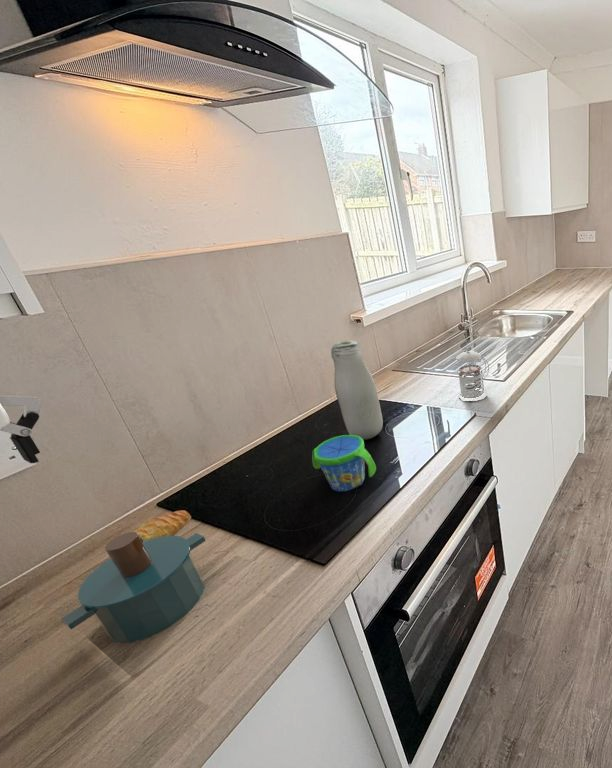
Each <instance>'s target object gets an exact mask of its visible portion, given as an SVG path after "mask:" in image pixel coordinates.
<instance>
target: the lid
mask: <svg viewBox="0 0 612 768" xmlns="http://www.w3.org/2000/svg"><path fill="white" fill-rule="evenodd" d="M104 550H105V551H106V553H107V555H108V556H109V559H107V560H106V561H104V562H103V563H102V564H100V565H99V566H98V567H96V568H95V569H94V570H93V571H92V572H91V573H89V575H88V576H87V577H86V578H85V579H84V580H83V582H82V583H81V585H80V587H79V589H78V592H77V600H78V602H79V603H80V604H81V606H82V605H83V606H85V607H87V608H93V609H100V608H108V607H112V606H116V605H119V604H123V603H125V602H128V601H131V600H133V599H135V598H137V597H139V596H141V595H143V594H145V593H147V592H149V591H151V590H152V589H154V588H156V587H157V586H159V585H160V584H162V583H163V582H165V581H166V580H167V579H168V578H170V577H171V576H172V575H173V574H174V573H175V572H177V571H178V570H179V569H180V567H181V566H182V565H183V564H184V563H185V561H186V560H187V558H188V556H189V554H191V551H192V550H191V548H190V544H189V542H188V541H187V538H186V537H183V536H179V535H172V536H163V537H158V538H154V539H150V540H147V541H144V542H142V541H141V539H140V537H139V536H138V534H137V533H136V532H132V531H128V532H124V533H122V534H119V535H117V536H115V537H113V538H112V539H110V540H109V541H108V542H106V544H105V546H104ZM190 550H191V551H190Z"/></svg>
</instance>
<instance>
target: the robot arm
mask: <svg viewBox="0 0 612 768" xmlns="http://www.w3.org/2000/svg"><path fill="white" fill-rule="evenodd" d="M41 405H42V399H41V398H40V397H37V396H33V395H32V396H30V395H6V394H5V395H4V394H3V395H2V394H0V432H4V433H8V434H10V437H9V439H10V440H11V443H12V444H13V445H14V447H15V448H16V450H17V451H18V453H19V454H20V456H21V458H22V459H23V461H26V462H27V463H29V464H36V463H38V462H40V461H39V459H38V457H37V456H36V455H38V454H41V451H40V449H39V448H38V446H37V444H36V443H35V441H34V439H33V438H32V436H31V435H32V433H33V431H32V430H33V428H34V427H35V425H36V424H37V422H38V421H39V419H40V412H41ZM4 406H7V407H8V406H11V407H13V406H14V407H17V406H18V407H23V413H22V414H21V416H20V417H19V419H18V421H17V422H12V421H11V419H10V417H9V414H8V413H7V411H6V409H5V408H4Z"/></svg>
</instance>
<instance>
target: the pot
mask: <svg viewBox="0 0 612 768" xmlns="http://www.w3.org/2000/svg"><path fill="white" fill-rule="evenodd" d="M186 539H187V541H188V542H189V544H190V548H191V550H190V552H191V551H193V550H194V549H196V548H197V547H199V546H200V545H202V544H203V543H205V542H206V541H207V540H206V538H205V536H203V535H202V534H200V533H197V532H195V533H193V534H192V535H190V536H189V537H187V538H186ZM205 587H206V585H205V582H204V577H203V575H202V574H201V571H200V570H199V568H198V566H197V564H196V561H195V560H194V558H193V555H192V553H190V554H189V556H188V558H187V560H186V561H185V563H184V564H183V565H182V566H181V567H180V569H179V570H178V571H177V572H175V573H174V574H173V575H172V576H171V577H170V578H168V579H167V580H166V581H165V582H163V583H162V584H160V585H159V586H157V587H156V588H154V589H152V590H151V591H149V592H147V593H145V594H143V595H141V596H139V597H137V598H135V599H133V600H131V601H128V602H125V603H123V604H119V605H116V606H112V607H108V608H100V609H93V608H87V607H85V606H83V605H82V604H81V605H80V606H78V607H77V608H75V609H74V610H72V611H71V612H68V613H66V615H64V616H62V617H61V618H60V620H61V621H62V623H63V624H64V625H65V626H66V627H68V629H70V630H73V629H74V628H76V627H77V626H79V625H81V624H82V623H84V622H85V621H86V620H88V619H90V618H91V617H92V616H93V617H94V618H95V620H96V622H97V623H98V624H99V626H100V628H101V629H102V630H103V631H104V633H105V635H106V636H107V637H108V638H109V639H110V640H111V641H113V643H116V644H117V643H119V644H122V643H123V644H132V643H135V642H138V641H141V640H145V639H148V638H151V637H154V636H155V635H157V634H159V633H161V632H163V631H164V630H167V629H168V628H170V627H172V626H173V625H174V624H176V623H177V622H178V621H179V620H181V619H182V618H183V617H185V616H186V615H187V614H188V613H189V612H190V611H191V610H192V609H193V608H194V607H195V606H196V604H197V603H198V602H199V601H200V599H201V597H202V595H203V593H204V591H205Z"/></svg>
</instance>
